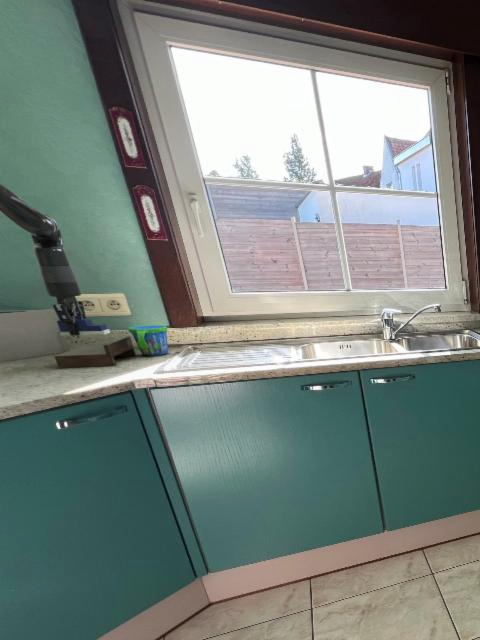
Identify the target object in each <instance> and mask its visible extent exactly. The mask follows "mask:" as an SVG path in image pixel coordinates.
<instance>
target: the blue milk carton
mask: <svg viewBox="0 0 480 640" xmlns="http://www.w3.org/2000/svg"><path fill="white" fill-rule="evenodd" d="M75 321H76V324H77V327H78V330H79V333H80V335H79V336H102V335H103V336H105V335H108V334H110V333H111V329H110V328H108V327H107V325H106V323H93V321H92V319H91V318H86V319H75ZM56 323H57V325H58V328H59V331H60V332H59V334H60V336H61V337H67V336H69V337H70V336H71V337H73V336H72V335H70V333H69V330H68V327H67V325H66V324H65V323H62V322H61V321H60V319H59V320H56Z"/></svg>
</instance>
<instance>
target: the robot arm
mask: <svg viewBox="0 0 480 640" xmlns="http://www.w3.org/2000/svg"><path fill="white" fill-rule="evenodd" d="M0 213H1V214H2V215H4V216H5V217H6V218H7V219H8V220H10V221H12V222H13V223H14V224H15V225H16V226H18V227H19V228H21V229H22V230H24V231H25V232H26V233H28V234H30V236H31V239H32V242H33V246H34V247H33V254H34V257H35V260H36V263H37V265H38V268H39V269H38V270H39V273H40V277H41V279H42V282H43V285H44V287H45V290H46V293H47V295H48V296H49V297H55V298H56V304H52V307H53V309H54V311H55V314H56V316H57V317H58V319H59V320H60V321H61V322H62V323H65V324H66V325H67V327H68V330H69V333H70V335H72V336H71V337H73V336H75V337H76V336H81V335H80V333H79V330H78V327H77V324H76V321H75V319H87V315H86V311H85V307H84V302H83V301H82V300H78V299H77V298H76V297H80V296H81V295H82V292H81V290H80V287H79V283H78V281H77V278H76V275H75V273H74V270H73V269H72V266H71V264H70V261H69V258H68V255H67V253H66V251H65V247H64V242H63V235H62V233H61V229H60V226H59V224H58V223H57V221H56V220H55V219H54V218H52V217H51V216H49V215H47V214H45V213H42V212H40V211H39V210H37V209H35V208H34V207H33V206H31V205H30V204H29V203H27V202H25V201H24V200H23V199H22V198H21V197H20V196H19V195H18V194H16V193H15V192H14V191H13V190H11V189H9V188H8V187H6V186H5V185H3V183H1V182H0Z"/></svg>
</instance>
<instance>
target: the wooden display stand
mask: <svg viewBox="0 0 480 640" xmlns="http://www.w3.org/2000/svg"><path fill="white" fill-rule="evenodd" d="M136 356H137V353H136V350H135V347H134V345H133V340H132V338H131V336H130V335H126V336H124V337H121V338H118V339H116V340H113V341H110V342H108V343H105V344H103V345H81V346H80V347H76V348H73V349H70V350H67V351H65V352H61V353H60V354H57V355H54V359H55V362H56V365H57V367H58V369H71V368H97V367H98V368H99V367H113V366H114V367H115V366H116V365H117V364H116V361H115V357H136Z"/></svg>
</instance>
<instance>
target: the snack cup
mask: <svg viewBox="0 0 480 640" xmlns="http://www.w3.org/2000/svg"><path fill="white" fill-rule="evenodd" d="M167 331H168V327H167V326H166V325H159V324H155V325H154V324H152V325H151V324H149V325H136V326H131V327H128V332H129V333H130V334H131V335H132V337H133V339H134V341H135V343H136V345H137V347H138V349H139V351H140V353H141V354H142V356H145V357H146V356H147V357H154V356H155V357H158V356H164V355H167V354H168V353H169V345H168V334H167Z"/></svg>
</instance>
